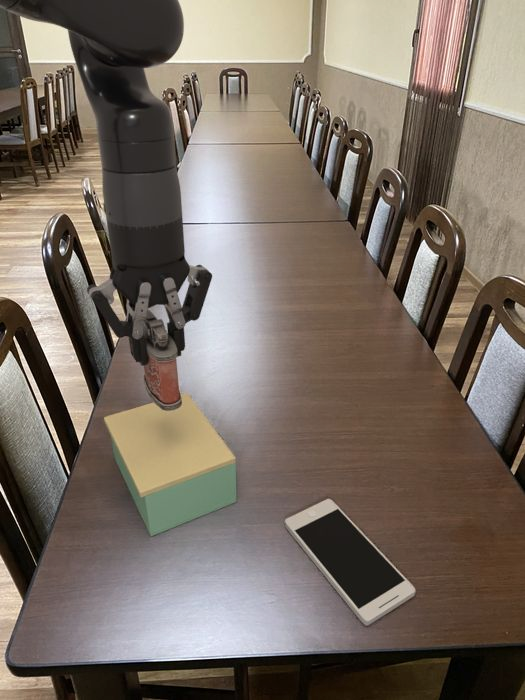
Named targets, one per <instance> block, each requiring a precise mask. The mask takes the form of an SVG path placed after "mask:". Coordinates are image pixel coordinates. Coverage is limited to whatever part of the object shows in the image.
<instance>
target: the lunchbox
mask: <svg viewBox="0 0 525 700" xmlns="http://www.w3.org/2000/svg"><path fill="white" fill-rule="evenodd" d="M110 439H111V445H112V451H113V457H114V460H115V462H116V465H117V468H118V469H119V471H120V473H121V476H122V478H123V479H124V482H125V484H126V486H127V489H128V491H129V493H130V495H131V497H132V499H133V501H134V503H135V506H136V508H137V510H138V512H139V514H140V516H141V519H142V521H143V523H144V525H145V527H146V530H147V531H148V534H149V536H150V537H154V536H156V535H158V534H161V533H163V532H166V531H169V530H171V529H174V528H176V527H179V526H181V525H183V524H185V523H186V524H187V523H189V522H191V521H194V520H196V519H198V518H201V517H203V516H206V515H208V514H210V513H213V512H215V511H218V510H220V509H223V508H226V507H227V506H228V507H229V506H231V505H233V504H235V503H237V463H236V462H235V463H233V464H230V465H227V466H225V467H222V468H219V469H217V470H214V471H211V472H209V473H206V474H203V475H200V476H198V477H195V478H192V479H190V480H187V481H184V482H182V483H179V484H176V485H173V486H171V487H168V488H165V489H163V490H160V491H157V492H155V493H152V494H149V495H146V496H144V497H140V495H139V493H138V491H137V489H136V487H135V485H134V483H133V481H132V478H131V476H130V474H129V472H128V470H127V468H126V466H125V464H124V462H123V460H122V458H121V455H120V453H119V451H118V449H117V447H116V445H115V443H114V441H113V439H112V437H111V436H110Z"/></svg>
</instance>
